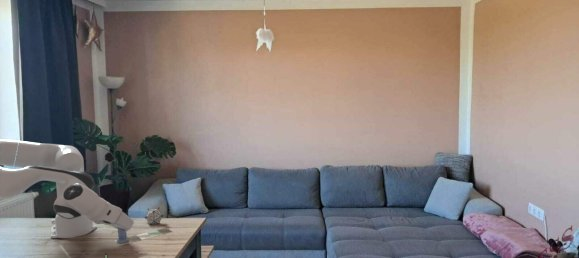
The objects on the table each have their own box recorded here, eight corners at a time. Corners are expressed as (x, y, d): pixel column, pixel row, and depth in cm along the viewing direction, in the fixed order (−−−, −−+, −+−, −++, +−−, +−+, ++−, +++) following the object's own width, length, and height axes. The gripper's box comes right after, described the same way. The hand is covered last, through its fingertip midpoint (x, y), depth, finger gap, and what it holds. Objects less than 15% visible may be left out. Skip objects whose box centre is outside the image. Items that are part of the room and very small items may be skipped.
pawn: (115, 241, 172) (113, 215, 171) (126, 238, 175) (124, 213, 174) (119, 244, 169) (117, 217, 168) (130, 241, 172) (128, 215, 170)
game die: (156, 233, 194) (156, 221, 187) (140, 226, 195) (139, 214, 188) (167, 219, 200) (167, 206, 194) (152, 212, 202) (151, 199, 195)
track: (114, 243, 173) (114, 240, 173) (166, 230, 188) (166, 227, 187) (120, 248, 168) (120, 245, 168) (172, 234, 182) (172, 231, 182)
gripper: (79, 215, 165) (102, 231, 175) (113, 223, 156) (136, 239, 165) (88, 201, 169) (110, 217, 178) (122, 208, 159) (144, 224, 169)
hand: (123, 228), depth 172 cm, fingers open, 4 cm apart
